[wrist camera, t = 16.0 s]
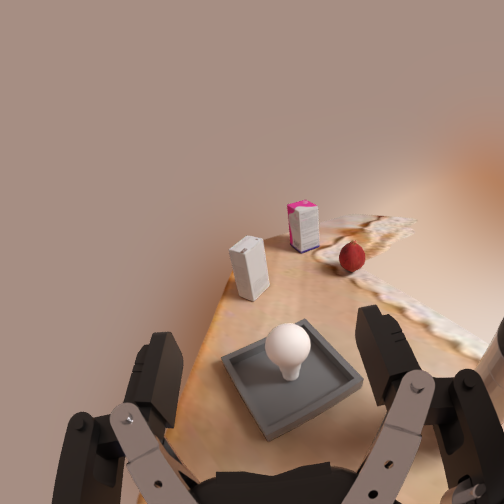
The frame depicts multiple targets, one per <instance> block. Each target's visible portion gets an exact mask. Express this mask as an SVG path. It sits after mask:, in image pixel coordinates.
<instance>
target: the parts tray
mask: <svg viewBox="0 0 504 504" xmlns="http://www.w3.org/2000/svg"><path fill="white" fill-rule="evenodd" d="M295 324H296V325H298V326H300V327H302V328H303V329H304V330H305V331H306V333H307V334H308V336H309V339H310V344H311V347H310V351H309V354H308V356H307V358H306V359H305V360H304V361H303V362H302V363H301V368H300V370H299V376H298V378H297V379H296V380H293V381H287V380H285V379H284V378H283V375H282V372H281V371H280V368H279V366H277V365H276V364H275V363H273V362H272V361H271V360H270V359H269V357H268V355H267V354H266V350H265V342H266V338H267V337H266V338H264V339H261V340H259V341H257V342H255V343H253V344H250V345H248V346H246V347H244V348H241V349H239V350H237V351H235V352H232V353H230V354H228V355H225V356H223V357H221V359H222V361H223V364H224V367H225V368H226V370H227V372H228V374H229V376H230V378H231V379H232V381H233V383H234V385H235V387H236V388H237V390H238V392H239V394H240V396H241V397H242V399H243V401H244V403H245V404H246V406H247V408H248V410H249V411H250V413H251V415H252V416H253V418H254V420H255V421H256V423H257V425H258V426H259V428H260V430H261V431H262V433H263V435H264V436H265V438H266V439H267V441H270V440H272V439H274V438H276V437H278V436H280V435H282V434H284V433H286V432H288V431H290V430H292V429H294V428H296V427H298V426H300V425H301V424H303V423H305V422H307V421H309V420H310V419H312V418H314V417H316V416H317V415H319V414H321V413H322V412H324V411H326V410H327V409H329V408H331V407H332V406H334V405H335V404H337V403H339V402H340V401H342V400H343V399H345V398H346V397H348V396H349V395H351V394H352V393H354V392H355V391H357V390H358V389H360V388H361V387H362V384H363V380H364V379H363V378H362V377H361V376H360V374H359V373H358V372H357V371H356V370H355V369H354V368H353V367H352V366H351V365H350V364H349V363H348V362H347V361H346V360H345V359H344V358H343V357H342V356H341V355H340V354H339V353H338V352H337V351H336V350H335V349H334V348H333V347H332V346H331V345H330V344H329V343H328V342H327V341H326V340H325V339H324V337H323V336H322V335H321V334H320V333H319V332H318V331H317V330H316V329H315V328H314V327H313V326H312V325H311V324H310V323H309V322H308V321H307V320H306V319H303V320H301V321H299V322H297V323H295Z"/></svg>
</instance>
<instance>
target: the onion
mask: <svg viewBox="0 0 504 504" xmlns="http://www.w3.org/2000/svg"><path fill="white" fill-rule="evenodd" d="M339 261H340V264H341V266H342V267H343V268H345V269H346V270H348V271H350V272H354V271H356V270H358V269H360V268H361V267H362V266H363V265H364V262H365V253H364V251H363V249H362V247H361V246H359V245H358V244H356V240H352V241H351V242H350V243H348V244H346V245H345V246H344V247H343V248H342V249H341V252H340V255H339Z"/></svg>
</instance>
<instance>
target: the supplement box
mask: <svg viewBox="0 0 504 504" xmlns="http://www.w3.org/2000/svg"><path fill="white" fill-rule="evenodd" d="M287 209H288V220H289V232H290V245H291V246H293V247H294V248H295V249H296V250H297V251H299V252H300V253H301V254H302V253H305V252H307V251H310V250H312V249H315V248H318V247H319V220H318V219H319V218H318V206H317V205H315V204H313V203H311V202H309V201H307V200H303V201H299V202H296V203H292V204H288V205H287Z"/></svg>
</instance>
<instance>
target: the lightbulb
mask: <svg viewBox="0 0 504 504" xmlns="http://www.w3.org/2000/svg"><path fill="white" fill-rule="evenodd" d="M310 347H311V344H310V339H309V336H308V334H307V333H306V331H305V330H304V329H303V328H302V327H300V326H298V325H296V324H292V323H284V324H281V325H278V326H277V327H275V328H274V329H272V330H271V332H270V333H269V334H268V336H267V338H266V342H265V350H266V354H267V355H268V357H269V359H270V360H271V361H272V362H273V363H275V364H276V365H277V366H279V368H280V371H281V372H282V375H283V378H284V379H285V380H287V381H293V380H296V379H297V378H298V376H299V370H300V368H301V363H302V362H303V361H304V360H305V359H306V358H307V356H308V354H309V351H310Z"/></svg>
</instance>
